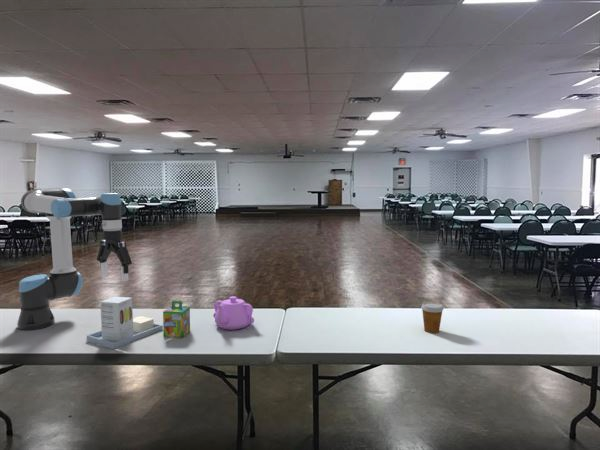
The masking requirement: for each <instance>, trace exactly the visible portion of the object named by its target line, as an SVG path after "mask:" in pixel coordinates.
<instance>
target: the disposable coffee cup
mask: <svg viewBox="0 0 600 450" xmlns="http://www.w3.org/2000/svg"><path fill="white" fill-rule="evenodd" d="M420 308H421V310H422V311H421V312H422V319H423V329H424V332H425V333H430V334H438V333H439V332H440V329H441V323H442V322H441V321H442V316H443V311H444V307H443V304H441V303H439V302H435V301H434V302H432V301H426V302H423V303H422V304H421V307H420Z"/></svg>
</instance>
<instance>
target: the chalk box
mask: <svg viewBox="0 0 600 450" xmlns="http://www.w3.org/2000/svg"><path fill="white" fill-rule="evenodd" d="M176 304H178V305H176ZM190 308H191V307H190V306H183V301H182V300H172V301H171V306H169V307H167V308H166V309H165V310H163V311H162V312H163V313H162V319H163V320H162V325H163V330H162V331H163V332H162V333H163V335H162V336H163V337H172V338H178V337H179V338H180V339H182V338H184V337H185V336H187V335H188V334H189V332H190V331H191V314H190V313H191V309H190Z"/></svg>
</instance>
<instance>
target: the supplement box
mask: <svg viewBox="0 0 600 450" xmlns="http://www.w3.org/2000/svg"><path fill="white" fill-rule="evenodd" d="M99 306H100V307H99V308H100V322H101V323H100V326H101V327H100V328H101V330H102V339H103V340H107V341H116V342H117V341H120V340H122V339H125V338H128V337H130V336H132V335H134V334H133V318H134V317H133V315H134V314H133V312H134V311H133V298H132V297H127V296H126V297H124V296H113V297H111V298H107V299H106V300H102V301H100V303H99Z"/></svg>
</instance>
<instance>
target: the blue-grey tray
mask: <svg viewBox="0 0 600 450" xmlns="http://www.w3.org/2000/svg"><path fill="white" fill-rule="evenodd" d="M161 331H163V324H159V323H155V322H154V328H152V329H150V330H147V331H144V332H141V333H139V332H135V331H133V334H134V335H132V336H130V337H128V338H125V339H122V340H120V341H117V342H116V341H107V340H103V339H102V329H101V330H99V331H95V332H93V333H90V334H87V335H86V342H87V343H88V342H89V343H91V344H94V345H98V346H100V347H104V348H107V349H111V350H116V349H117V348H119V347H122V346H124V345H126V344H128V343H131V342H134V341H137V340H139V339H142V338H145V337H147V336H149V335H152V334H154V333H157V332H161Z"/></svg>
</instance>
